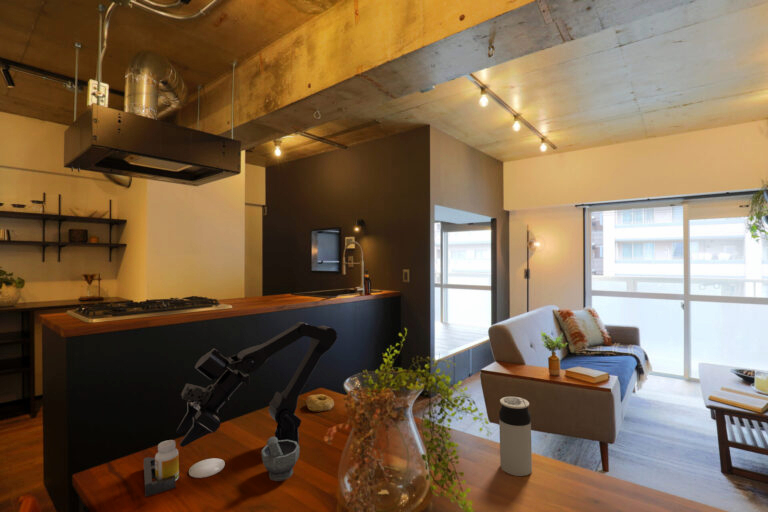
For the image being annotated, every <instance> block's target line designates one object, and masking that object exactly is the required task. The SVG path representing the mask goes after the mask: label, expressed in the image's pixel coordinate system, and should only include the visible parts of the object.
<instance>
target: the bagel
mask: <svg viewBox="0 0 768 512" xmlns="http://www.w3.org/2000/svg"><path fill="white" fill-rule="evenodd" d="M305 403H306V406H307V409H308V410H309V411H312V412H325V411H330V410H332V408H333V407H335V402H334V399H333V398H332V397H331V396H328V395H326V394H325V393H324V394H323V393H322V394H321V393H318V394H311V395H308V396H307V398H306V400H305Z"/></svg>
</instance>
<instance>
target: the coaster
mask: <svg viewBox="0 0 768 512" xmlns="http://www.w3.org/2000/svg"><path fill="white" fill-rule="evenodd" d="M225 465H226V464H225V461H224V460H223V459H221V458H215V457H213V458H206V459H203V460H201V461H198V462H196V463H194V464H193V465H191V467H190V468H189V470H188V475H189V477H192V478H196V479H202V478H203V479H204V478H207V477H211V476H214V475H216V474H217V473H219V472H222V470H223V469H224V467H225Z"/></svg>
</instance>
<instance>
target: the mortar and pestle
mask: <svg viewBox="0 0 768 512" xmlns="http://www.w3.org/2000/svg"><path fill="white" fill-rule="evenodd" d="M300 449H301V448H300V444H299V445H298V443H297V442H296V441H292V440H279V441H278V439H277V437H275V436H271V437H269V438H267V441H266V445H265V446H264V447H263V448H262V450H261V454H260V455H261V459H262V463H263V467H265V469H266V471H267V472H268V477H269V479H270V480H271V481H275V482H281V481H286V480H287V479H290V478H291V477H292V475H293V473H294V466H295V465H296V464H297V461H298V459H299V457H300Z"/></svg>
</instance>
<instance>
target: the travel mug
mask: <svg viewBox="0 0 768 512" xmlns="http://www.w3.org/2000/svg"><path fill="white" fill-rule="evenodd" d="M499 403H500V407H501V408H500V409H499V411H498V414H499V415H498V416H499V417H498V418H499V419H498V420H499V422H498V424H499V454H500V455H499V459H500V463H499V464H500V468H501V470H502V471H504V472H505V473H506V474H509V475H512V476H515V477H524V476H528V475H531V473H532V472H533V463H532V462H533V457H532V456H533V455H532V453H533V452H532V420H531V418H532V417H531V415H532V414H531V413H530V411H529V406H530V402H529V401H528V399H525V398H523V397H518V396H504V397H502V398H500V399H499Z"/></svg>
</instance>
